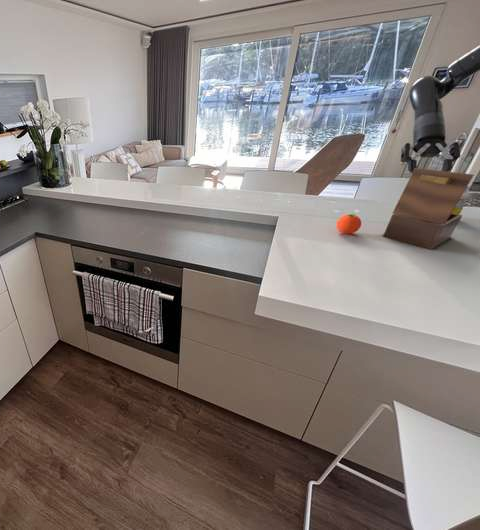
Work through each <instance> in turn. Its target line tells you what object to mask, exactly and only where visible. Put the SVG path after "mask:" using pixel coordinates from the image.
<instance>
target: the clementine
mask: <svg viewBox="0 0 480 530" xmlns="http://www.w3.org/2000/svg"><path fill="white" fill-rule="evenodd" d="M361 227H362V220H361V218H360V217H359V216H358V215H356V214H355V213H347V214H344V215H342V216H340V217H339V218H338V220H337V221H336V229H337V230H338V231H339V232H340V233H342V234H344V235H351V234H354V233H356V232H358V231H359V230H360V229H361Z"/></svg>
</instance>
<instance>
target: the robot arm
mask: <svg viewBox="0 0 480 530" xmlns="http://www.w3.org/2000/svg"><path fill="white" fill-rule="evenodd" d="M478 72H480V44H479V45H477V46H476V47H474V48H473V49H471V50H470V51H467V53H465V54H464V55H462V56H460V57H458V58H457V59H456V60H454V61H453V62H452V63H450V64H449V65H448V66H447V68H446V73H447V75H446V76H444V78H442V79H441V80H440V79H438V78H437V77H435V76H433V75H424V76H422V77H420V78H418V79H417V80H415V81H414V83H413V84H412V85H411V86H410V88H409V92H408V97H409V102H410V105H411V108H412V111H413V126H412V144H411V143H410V142H406V143H405V144H404V145H403V146H402V147H401V151H400V162H401V163H407V171H408V172H409V173H410V174H412V173H413V171H414V169H415V168H418V165H417V163H418V162H417V159H418V158H419V157H420V158H425V159H426V158H435V159H436V160H438V161H441V163H442V171H446V172H451V170H452V169H453V163H455V161H457V160H458V159H460V158H461V150H460V143H459V142H458V141H454V142H453V143H446V120H445V119H446V118H445V116H444V105H443V101H442V100H441V99H443V98H444V97H446V96H447V95H448V94H449V93H451V92H452V91H453V90H455V89H456V88H457V87H459V85H460V84H462V83H463V82H464V81H465V80H467V79H468V78H470V77H472V76H474V75H475V74H477V73H478ZM411 150H412V151H413V152H414V155H413V156H410V153H411Z"/></svg>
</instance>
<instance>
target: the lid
mask: <svg viewBox="0 0 480 530" xmlns="http://www.w3.org/2000/svg"><path fill="white" fill-rule="evenodd" d="M474 176H475V175H474V174H473V173H464V172H463V173H462V172H453V171H449V172H446V171H443V170H436V169H426V168H418V167H417V168H415V169H414V171H413V173H411V174H410V177H409V179H408V180H407V183H406V185H405V187H404V189H403V191H402V193H401V195H400V197H399V199H398V201H397V202H396V206H395V207H394V209H393V211H392V215H393V214H397V215H402V216H406V217H411V218H416V219H420V220H425V221H429V222H434V223H438V224H443V225H445V223H446V222H447V220H448V218H449V217H450V215H451V213H452V211H453V210H454V208H455V206H456V205H457V203H458V201H459V199H460V198H461V196H462V194H463V193H464V191H465V189H466V187H467V186H468V184H469V185H470V183H471V181H472V180H473V177H474Z"/></svg>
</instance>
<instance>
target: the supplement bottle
mask: <svg viewBox="0 0 480 530" xmlns="http://www.w3.org/2000/svg"><path fill="white" fill-rule="evenodd" d="M470 188H471V184H470V183H469V184H468V186H467V187H466V189H465V191H464V193H463V194H462V196H461V198H460V199H459V201H458V203H457V205H456V206H455V208H454V210H453V211H452V213H453V214H458V215H461V212H462V211H463V209H464V207H465V205H466V203H467V201H468V200H469V198H470V195H471V194H470V192H468V190H469V189H470Z"/></svg>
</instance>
